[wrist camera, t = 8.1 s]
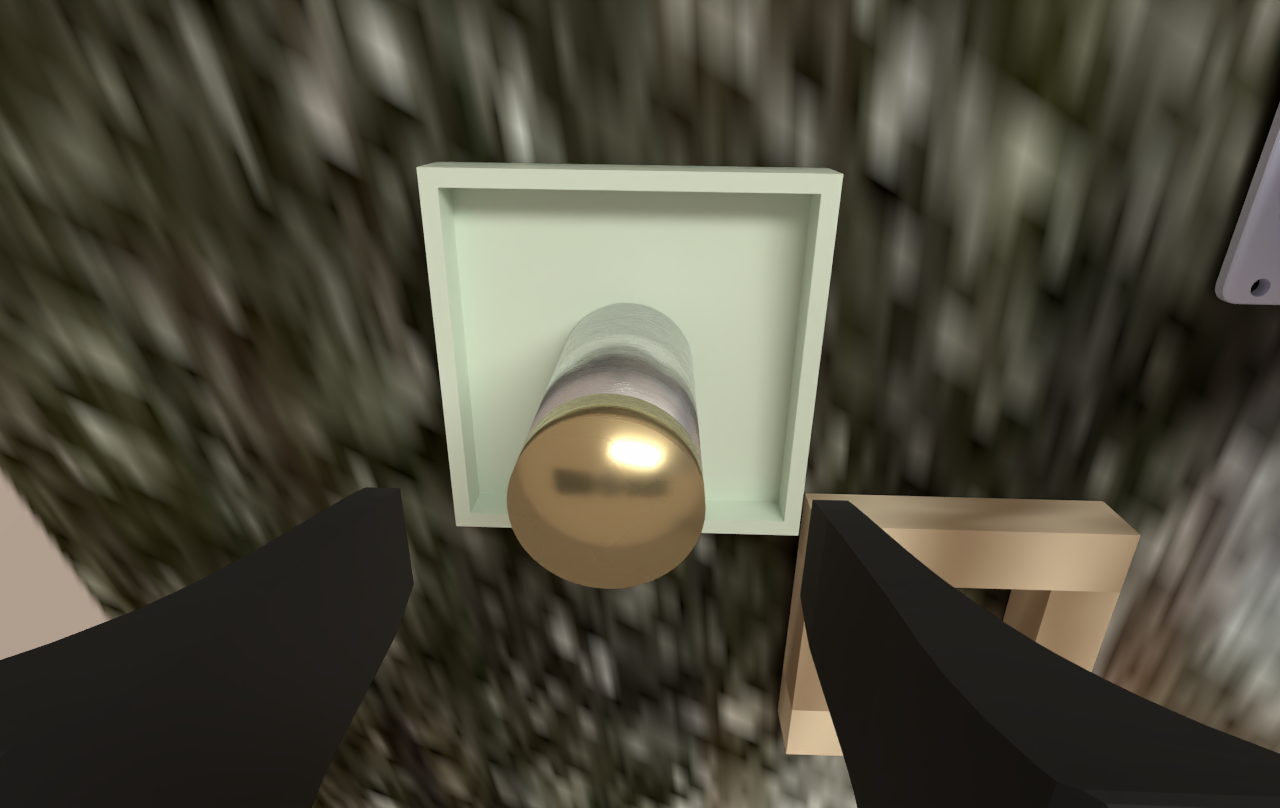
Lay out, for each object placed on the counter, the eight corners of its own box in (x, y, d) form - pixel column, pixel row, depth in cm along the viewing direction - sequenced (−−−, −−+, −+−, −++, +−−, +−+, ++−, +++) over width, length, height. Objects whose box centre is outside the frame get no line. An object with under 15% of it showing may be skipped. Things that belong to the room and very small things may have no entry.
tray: (827, 168, 19) (843, 174, 18) (788, 505, 24) (798, 535, 22) (437, 161, 19) (416, 166, 18) (470, 497, 24) (456, 525, 22)
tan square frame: (1103, 500, 23) (1140, 535, 21) (1032, 719, 27) (1058, 763, 25) (805, 493, 23) (817, 526, 22) (777, 710, 27) (786, 753, 26)
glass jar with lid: (713, 331, 21) (738, 461, 13) (663, 441, 22) (661, 611, 15) (587, 282, 20) (542, 388, 13) (545, 398, 22) (483, 552, 14)
